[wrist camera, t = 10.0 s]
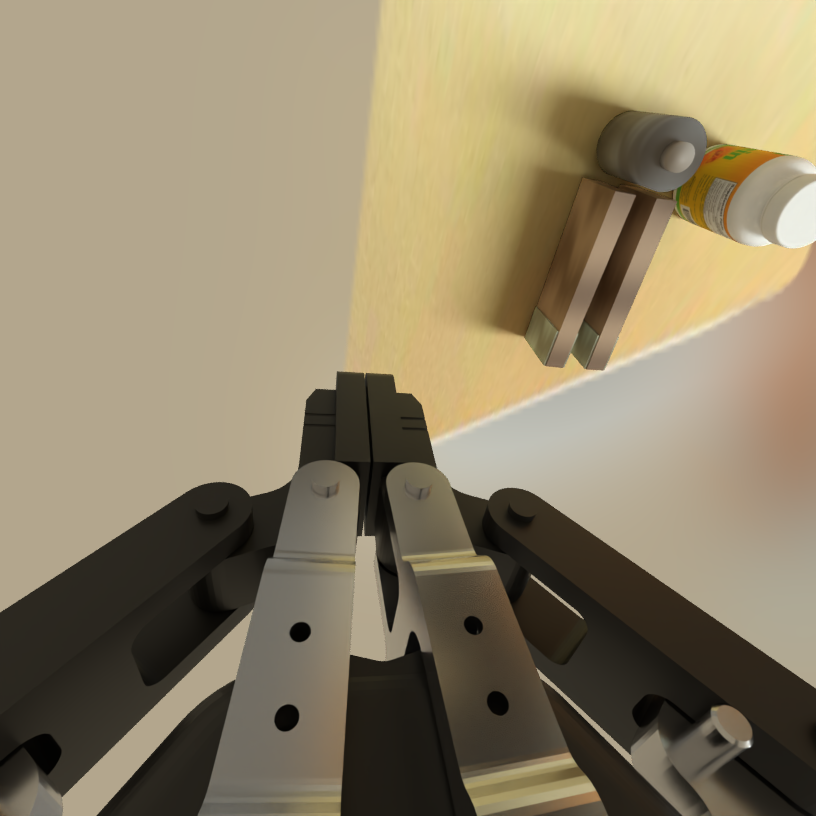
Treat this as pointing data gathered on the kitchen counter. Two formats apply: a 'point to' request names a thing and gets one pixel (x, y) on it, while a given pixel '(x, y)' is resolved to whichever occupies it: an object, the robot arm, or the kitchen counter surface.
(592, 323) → the tongs frame
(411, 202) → the kitchen counter surface
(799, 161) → the supplement bottle
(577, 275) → the tong arm
